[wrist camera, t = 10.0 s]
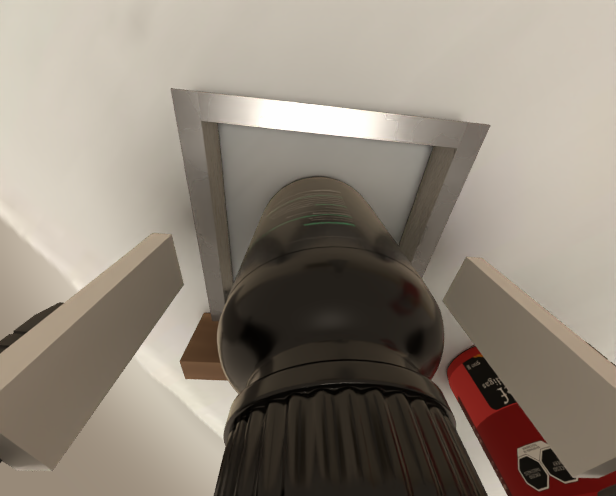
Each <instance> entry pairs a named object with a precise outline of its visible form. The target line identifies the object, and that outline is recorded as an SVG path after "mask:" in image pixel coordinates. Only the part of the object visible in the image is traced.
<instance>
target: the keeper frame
mask: <svg viewBox="0 0 616 496" xmlns="http://www.w3.org/2000/svg"><path fill="white" fill-rule="evenodd" d="M171 93H172V98H173V104H174V110H175V115H176V121H177V127H178V132H179V138H180V143H181V149H182V155H183V160H184V166H185V172H186V177H187V183H188V188H189V194H190V200H191V205H192V211H193V217H194V222H195V228H196V233H197V239H198V245H199V250H200V256H201V262H202V267H203V273H204V278H205V284H206V290H207V295H208V301H209V307H210V312H211V318H212V321H218V322H219V320H220V317H221V314H222V311H223V308H224V306H225V303H226V300H227V298H228V295H229V293H230V291H231V288H232V286H233V277H232V266H231V256H230V246H229V235H228V225H227V214H226V204H225V194H224V183H223V173H222V162H221V152H220V142H219V131H218V123H226V124H235V125H244V126H254V127H263V128H273V129H282V130H291V131H301V132H310V133H319V134H329V135H338V136H347V137H357V138H366V139H376V140H385V141H394V142H404V143H413V144H422V145H432V146H434V147H433V150H432V153H431V155H430V158H429V161H428V164H427V167H426V170H425V173H424V175H423V178H422V181H421V184H420V187H419V190H418V192H417V195H416V198H415V201H414V204H413V207H412V210H411V212H410V215H409V218H408V221H407V224H406V227H405V230H404V232H403V235H402V238H401V241H400V244H399V248H400V249H401V250H402V252H403V253H404V255H405V256H406V257H407V259H408V260H409V262H410V263H411V265H412V266H413V267H414V269H415V270H416V272H417V273H418V274H419V276H420V277H421V279H422V276H423V274H424V272H425V270H426V267H427V265H428V263H429V261H430V259H431V256H432V254H433V252H434V250H435V247H436V245H437V243H438V241H439V239H440V236H441V234H442V232H443V230H444V227H445V225H446V223H447V221H448V219H449V216H450V214H451V212H452V210H453V207H454V205H455V203H456V201H457V199H458V196H459V194H460V192H461V190H462V187H463V185H464V183H465V181H466V179H467V176H468V174H469V172H470V170H471V167H472V165H473V163H474V161H475V159H476V156H477V154H478V152H479V150H480V147H481V145H482V143H483V141H484V139H485V136H486V134H487V132H488V130H489V127H490V125H487V124H478V123H470V122H461V121H452V120H443V119H435V118H426V117H417V116H409V115H400V114H391V113H382V112H374V111H365V110H356V109H347V108H339V107H330V106H321V105H312V104H304V103H295V102H286V101H278V100H269V99H260V98H251V97H243V96H234V95H225V94H216V93H208V92H199V91H190V90H181V89H173V88H171Z"/></svg>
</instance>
